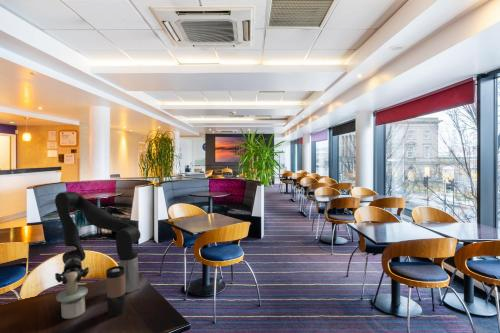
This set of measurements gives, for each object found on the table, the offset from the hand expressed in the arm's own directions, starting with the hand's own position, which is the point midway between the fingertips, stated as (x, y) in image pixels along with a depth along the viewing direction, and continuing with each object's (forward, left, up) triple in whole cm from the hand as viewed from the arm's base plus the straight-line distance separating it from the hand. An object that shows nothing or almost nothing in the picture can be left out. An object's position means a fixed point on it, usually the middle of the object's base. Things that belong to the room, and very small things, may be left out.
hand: (71, 281), depth 122 cm
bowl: (0, -3, -16) cm, 16 cm away
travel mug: (-17, +7, -16) cm, 25 cm away
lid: (0, -3, -8) cm, 8 cm away
